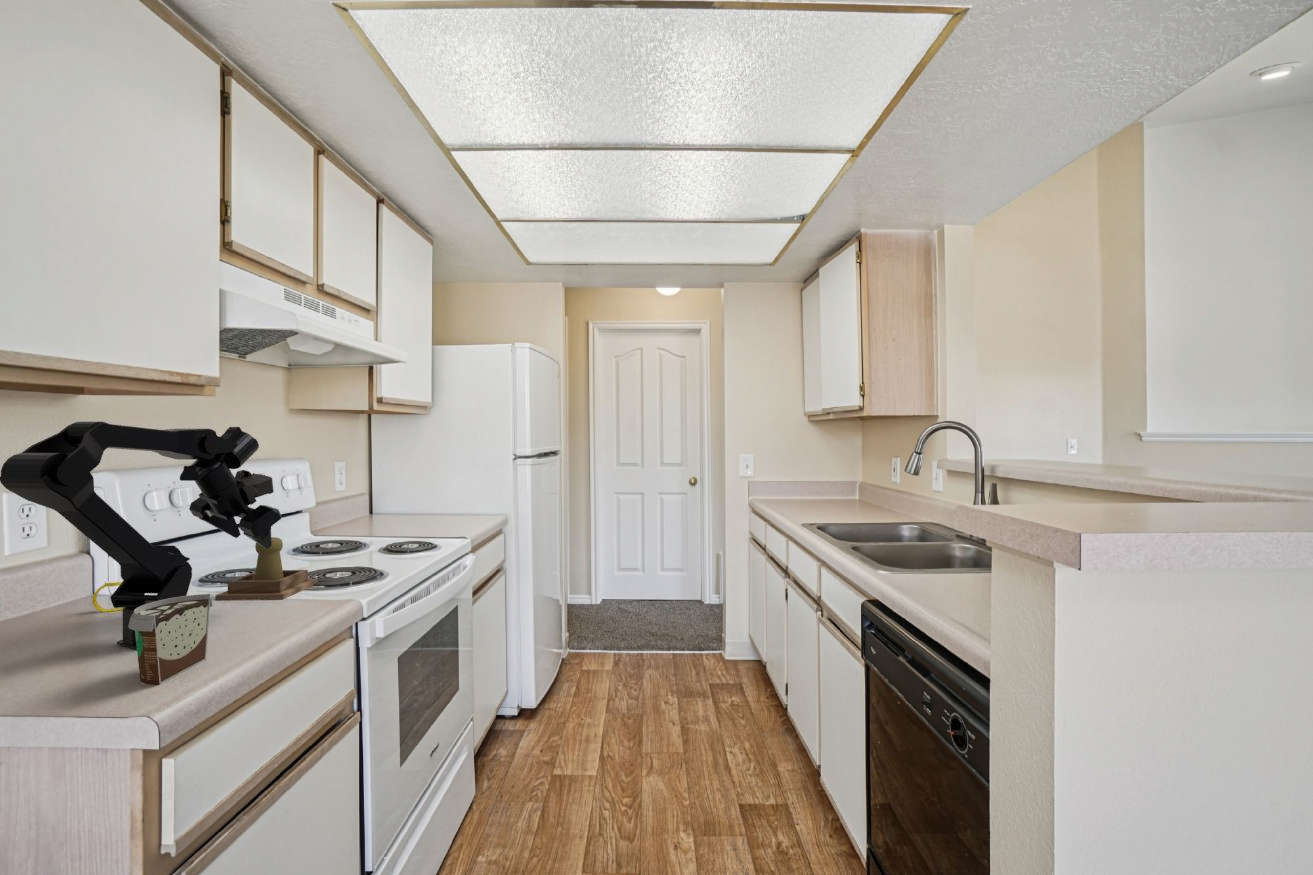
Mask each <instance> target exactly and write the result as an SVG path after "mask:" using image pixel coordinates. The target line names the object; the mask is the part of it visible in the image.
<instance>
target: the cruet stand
mask: <svg viewBox="0 0 1313 875" xmlns="http://www.w3.org/2000/svg"><path fill="white" fill-rule="evenodd" d="M282 570H283V576H284V578H282V579H280V580H254V579H255V572H256V571H254V572H252V573H248V574H246V575H243V576H240V577H236V578H234V579H231V580H229V581H227V590H226V591H223V592H221V593H218V594H215V601H233V600H235V601H237V600H238V601H240V600H241V599H260V600H284V599H287V598H289V597H291V596H294V595H296V594H298V593H299V592H302V591H304V590H306V589H309V588H310V587H312V586H315V585H317V584H318V583H319V582H318V581H319V579H318V578H309V570H308V569H282ZM317 582H318V583H317ZM316 583H317V584H316ZM314 584H315V585H314ZM241 601H242V600H241Z"/></svg>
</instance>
